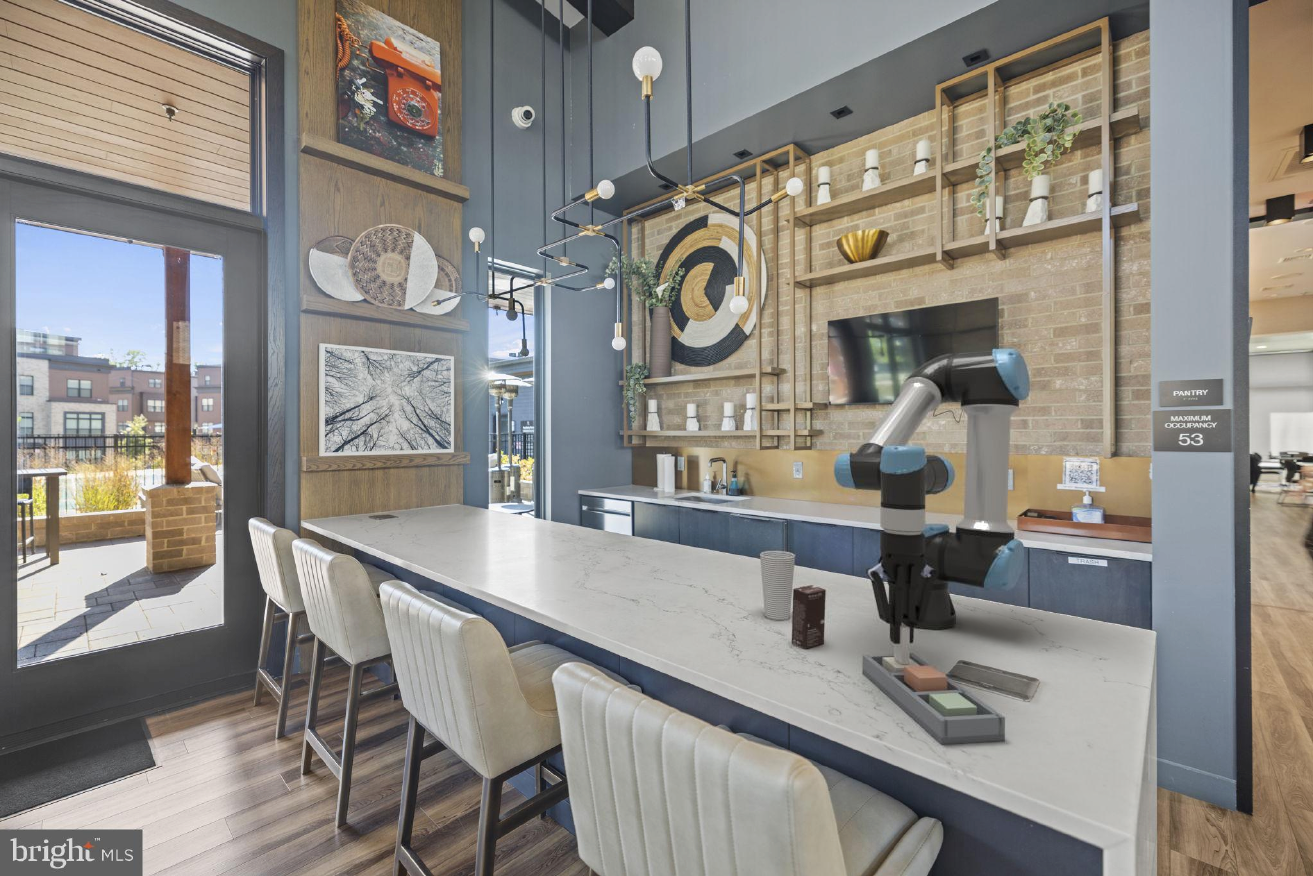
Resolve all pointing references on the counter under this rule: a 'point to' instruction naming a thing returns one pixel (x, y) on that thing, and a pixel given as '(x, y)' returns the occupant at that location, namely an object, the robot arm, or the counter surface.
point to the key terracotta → (925, 678)
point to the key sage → (951, 705)
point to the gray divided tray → (916, 705)
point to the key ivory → (895, 665)
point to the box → (808, 616)
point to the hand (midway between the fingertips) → (901, 660)
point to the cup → (777, 583)
